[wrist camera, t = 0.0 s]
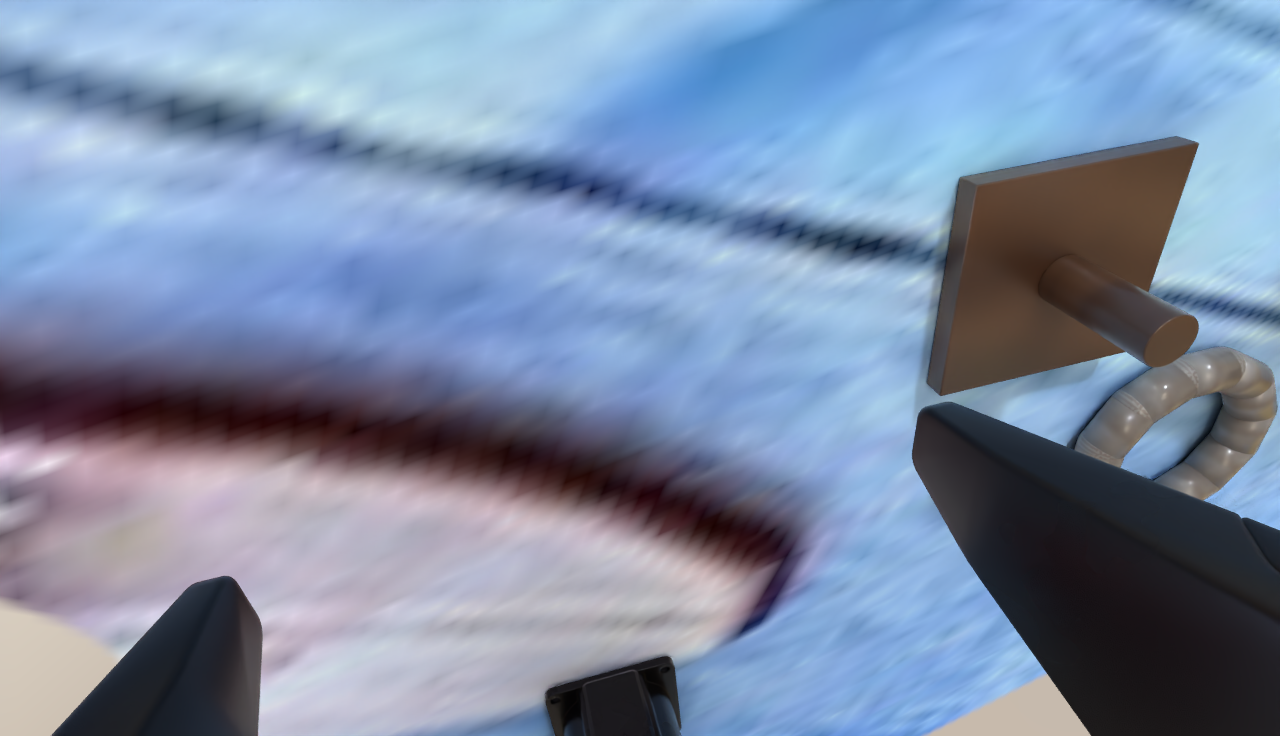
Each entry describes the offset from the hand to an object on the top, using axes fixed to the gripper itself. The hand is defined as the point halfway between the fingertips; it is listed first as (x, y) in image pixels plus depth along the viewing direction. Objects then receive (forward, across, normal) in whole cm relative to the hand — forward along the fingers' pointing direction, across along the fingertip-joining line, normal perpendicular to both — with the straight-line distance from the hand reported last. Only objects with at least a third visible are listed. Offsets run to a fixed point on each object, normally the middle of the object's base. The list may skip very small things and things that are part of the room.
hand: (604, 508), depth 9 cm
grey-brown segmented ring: (+14, -29, +18) cm, 37 cm away
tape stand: (+15, -20, +7) cm, 26 cm away
